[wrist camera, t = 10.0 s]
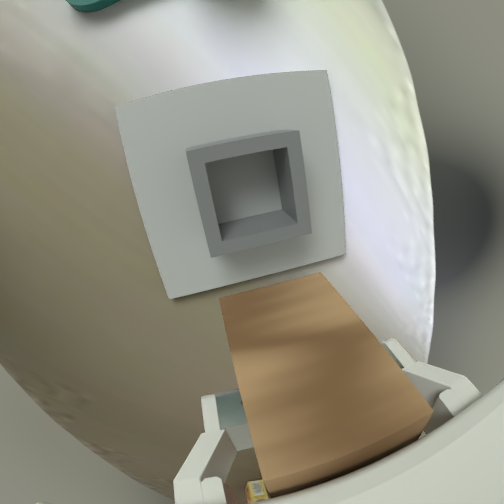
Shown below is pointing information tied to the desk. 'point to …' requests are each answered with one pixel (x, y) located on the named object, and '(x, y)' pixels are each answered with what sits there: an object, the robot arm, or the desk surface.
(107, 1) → the bracket
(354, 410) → the walnut block
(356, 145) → the desk surface
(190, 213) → the well
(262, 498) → the candy box
